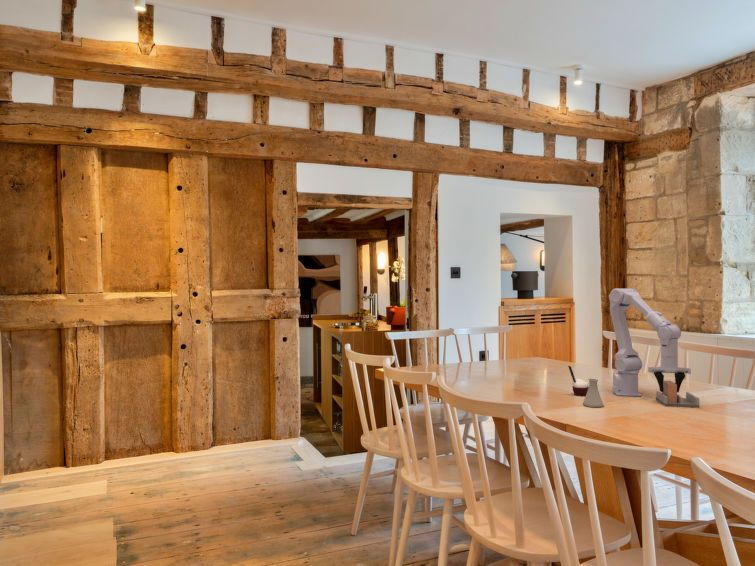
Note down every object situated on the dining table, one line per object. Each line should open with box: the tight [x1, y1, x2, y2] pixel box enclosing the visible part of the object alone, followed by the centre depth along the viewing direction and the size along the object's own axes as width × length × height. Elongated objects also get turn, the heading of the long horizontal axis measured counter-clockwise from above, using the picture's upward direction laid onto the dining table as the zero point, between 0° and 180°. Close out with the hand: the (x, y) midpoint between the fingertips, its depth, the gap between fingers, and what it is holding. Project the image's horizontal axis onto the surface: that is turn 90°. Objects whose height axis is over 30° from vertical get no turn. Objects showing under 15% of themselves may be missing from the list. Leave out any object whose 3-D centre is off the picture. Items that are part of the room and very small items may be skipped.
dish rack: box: [655, 390, 700, 409], centre depth 212 cm, size 12×12×4 cm
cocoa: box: [568, 365, 589, 397], centre depth 229 cm, size 10×6×12 cm, turn 77°
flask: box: [582, 378, 605, 408], centre depth 209 cm, size 7×7×10 cm
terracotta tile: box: [661, 380, 678, 403], centre depth 213 cm, size 8×3×7 cm, turn 168°
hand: (669, 391), depth 213 cm, fingers open, 5 cm apart
